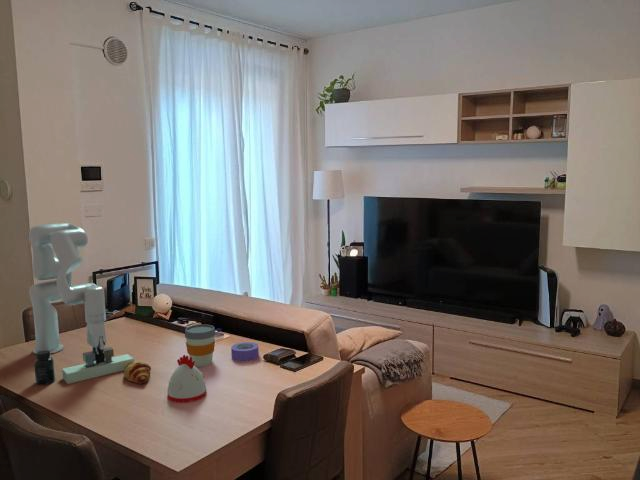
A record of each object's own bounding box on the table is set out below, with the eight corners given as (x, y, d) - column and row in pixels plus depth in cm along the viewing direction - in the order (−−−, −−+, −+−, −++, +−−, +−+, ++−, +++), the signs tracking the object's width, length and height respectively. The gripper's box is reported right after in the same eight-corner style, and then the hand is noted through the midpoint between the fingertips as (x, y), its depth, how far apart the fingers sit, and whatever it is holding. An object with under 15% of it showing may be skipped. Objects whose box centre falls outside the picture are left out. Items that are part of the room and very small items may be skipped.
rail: (62, 378, 217) (62, 368, 216) (128, 363, 233) (127, 354, 232) (67, 383, 211) (67, 373, 211) (134, 367, 228) (133, 358, 227)
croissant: (124, 378, 225) (114, 363, 223) (145, 363, 230) (135, 348, 227) (138, 395, 208) (126, 379, 205) (160, 378, 212) (149, 362, 209)
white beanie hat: (186, 406, 191) (184, 365, 189) (159, 397, 199) (157, 357, 197) (214, 391, 203) (212, 353, 201) (187, 384, 210) (185, 346, 208)
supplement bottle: (59, 379, 216) (56, 350, 214) (45, 386, 209) (42, 356, 208) (45, 377, 218) (43, 348, 216) (31, 384, 212) (29, 354, 210)
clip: (83, 369, 220) (82, 353, 219) (111, 363, 227) (110, 347, 226) (86, 372, 217) (85, 355, 216) (114, 365, 224) (113, 349, 223)
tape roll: (226, 360, 236) (226, 348, 235) (240, 351, 247) (239, 340, 246) (250, 363, 232) (250, 352, 231) (263, 354, 242) (263, 343, 242)
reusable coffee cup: (190, 370, 224) (188, 334, 222) (182, 360, 235) (181, 326, 233) (220, 364, 230) (218, 330, 228) (211, 355, 241) (210, 322, 239)
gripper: (79, 315, 223) (83, 358, 225) (92, 323, 210) (95, 369, 213) (98, 311, 228) (101, 354, 230) (112, 320, 215) (115, 364, 218)
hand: (98, 361), depth 221 cm, fingers closed on clip, 3 cm apart
